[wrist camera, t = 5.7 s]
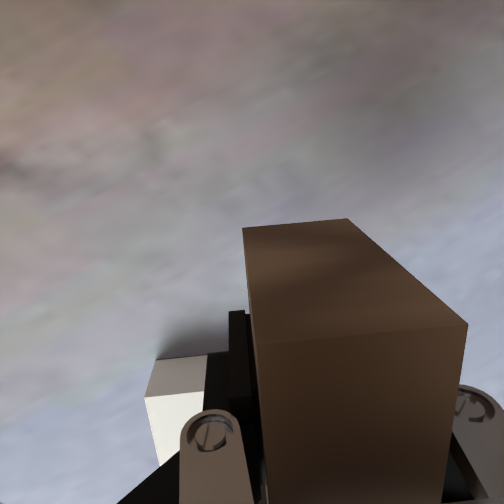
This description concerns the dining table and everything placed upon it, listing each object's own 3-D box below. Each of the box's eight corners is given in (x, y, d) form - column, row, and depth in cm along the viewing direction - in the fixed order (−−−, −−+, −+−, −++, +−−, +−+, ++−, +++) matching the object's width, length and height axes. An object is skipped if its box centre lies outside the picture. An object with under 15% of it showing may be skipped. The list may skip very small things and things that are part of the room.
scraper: (488, 205, 11) (748, 296, 6) (447, 469, 15) (575, 677, 10) (94, 241, 11) (-48, 375, 5) (157, 501, 15) (114, 736, 9)
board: (359, 339, 29) (379, 372, 25) (356, 469, 34) (372, 513, 30) (155, 360, 28) (144, 397, 25) (181, 489, 33) (175, 536, 29)
